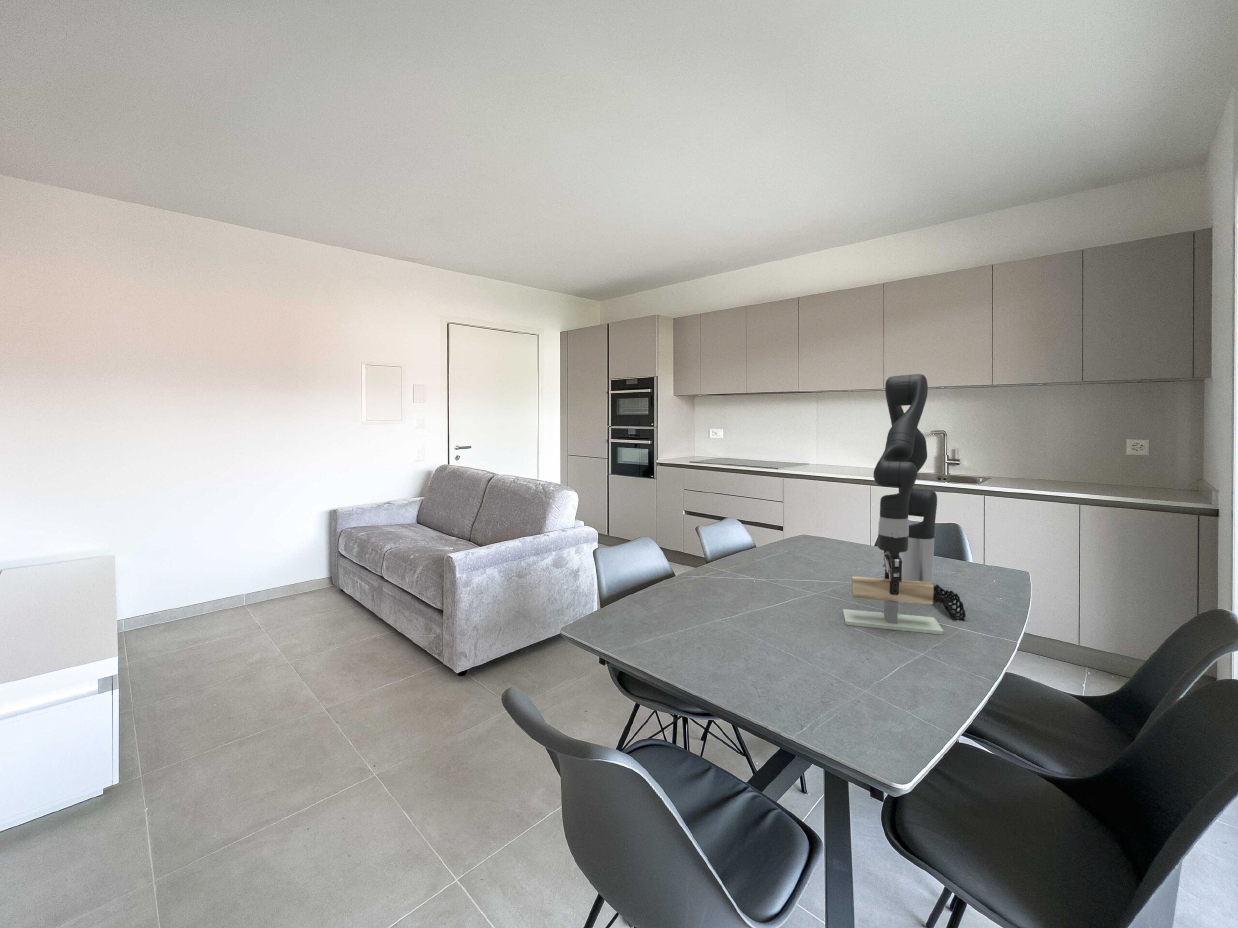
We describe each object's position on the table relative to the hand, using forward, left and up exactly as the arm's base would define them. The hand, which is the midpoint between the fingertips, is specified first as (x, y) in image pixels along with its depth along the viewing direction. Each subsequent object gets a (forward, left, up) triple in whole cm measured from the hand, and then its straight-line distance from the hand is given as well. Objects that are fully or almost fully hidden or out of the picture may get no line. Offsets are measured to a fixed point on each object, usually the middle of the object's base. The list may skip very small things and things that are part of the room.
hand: (891, 589), depth 150 cm
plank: (0, 0, -3) cm, 3 cm away
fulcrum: (0, 0, -10) cm, 10 cm away
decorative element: (-18, +18, -10) cm, 27 cm away
